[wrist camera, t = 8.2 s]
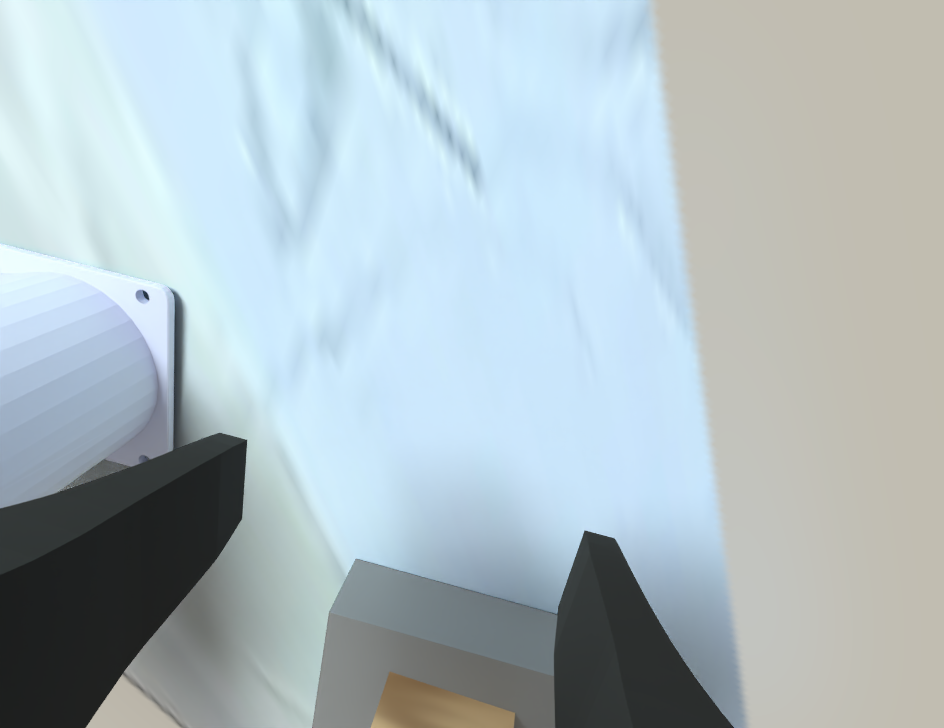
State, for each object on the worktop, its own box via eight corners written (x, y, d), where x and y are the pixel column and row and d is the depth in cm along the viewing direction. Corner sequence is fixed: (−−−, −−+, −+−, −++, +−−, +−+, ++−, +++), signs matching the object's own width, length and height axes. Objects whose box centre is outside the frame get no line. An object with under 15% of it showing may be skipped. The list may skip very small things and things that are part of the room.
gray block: (329, 719, 29) (304, 781, 26) (355, 558, 25) (329, 611, 22) (531, 779, 28) (527, 849, 26) (590, 624, 25) (593, 687, 22)
